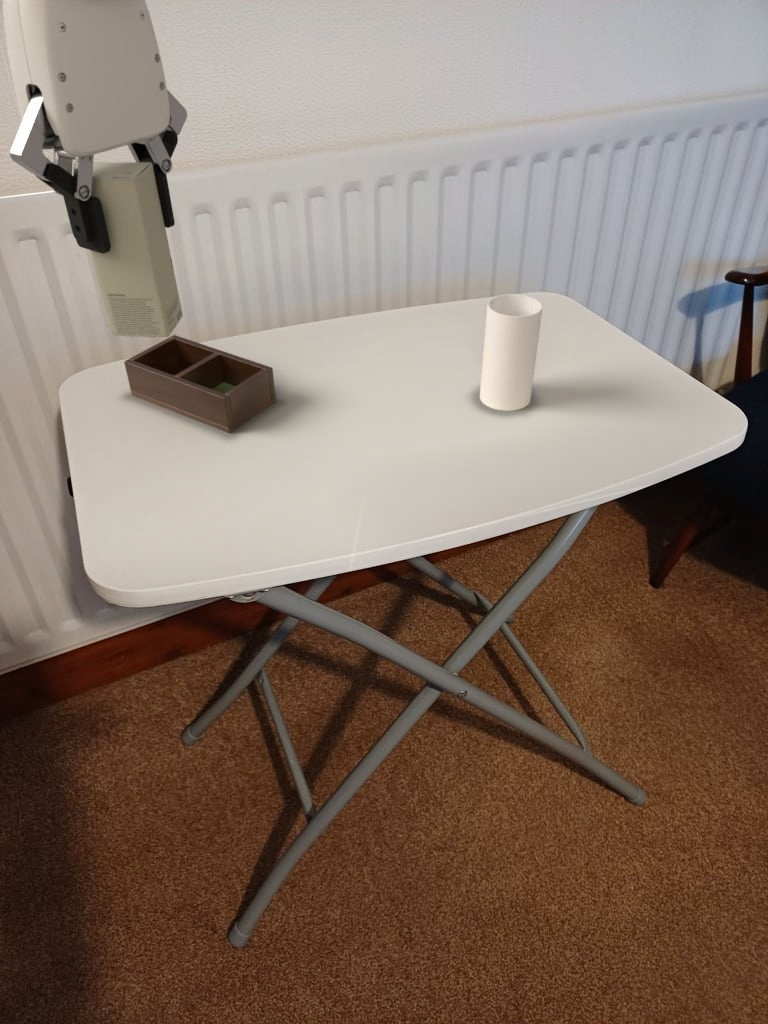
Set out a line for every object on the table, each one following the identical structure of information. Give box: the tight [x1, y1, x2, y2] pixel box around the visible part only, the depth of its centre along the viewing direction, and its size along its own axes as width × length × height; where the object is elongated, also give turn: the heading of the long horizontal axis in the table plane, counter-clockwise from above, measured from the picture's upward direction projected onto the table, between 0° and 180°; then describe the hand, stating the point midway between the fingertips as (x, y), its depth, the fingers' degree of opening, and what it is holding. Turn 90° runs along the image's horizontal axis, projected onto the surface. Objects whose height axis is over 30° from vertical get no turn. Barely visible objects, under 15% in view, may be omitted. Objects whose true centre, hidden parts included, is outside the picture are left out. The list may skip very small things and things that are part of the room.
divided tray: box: [123, 334, 277, 434], centre depth 94 cm, size 8×16×5 cm, turn 57°
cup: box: [479, 293, 543, 412], centre depth 92 cm, size 6×6×12 cm
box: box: [89, 161, 184, 338], centre depth 63 cm, size 5×4×13 cm
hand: (127, 233), depth 62 cm, fingers closed on box, 5 cm apart
